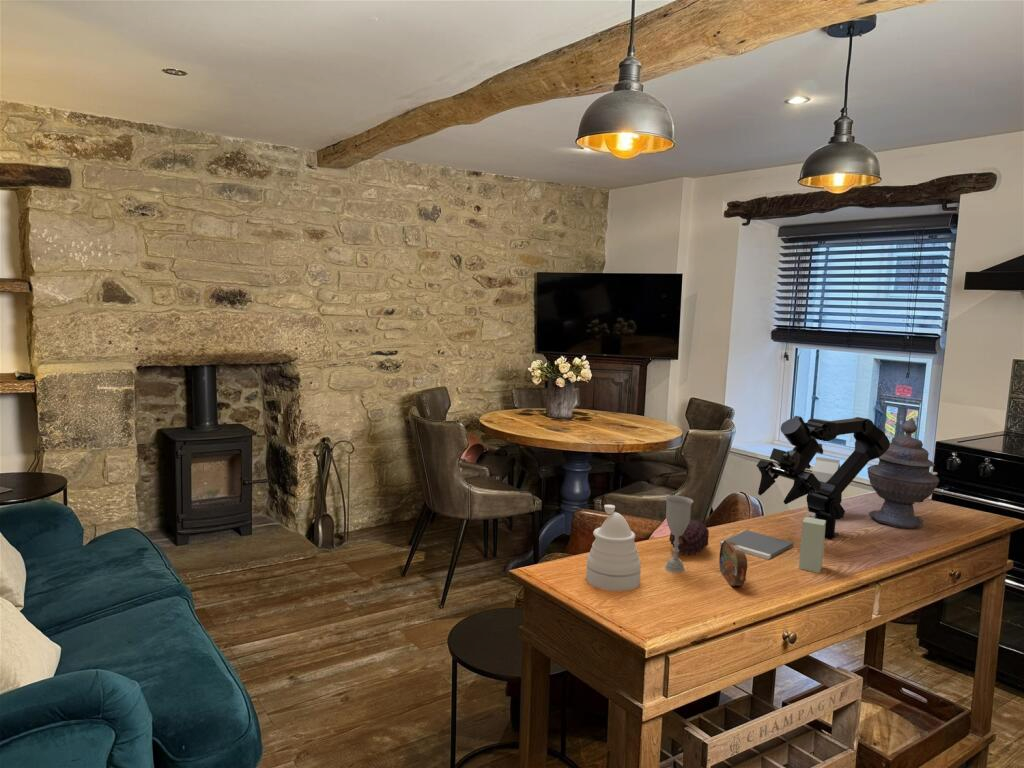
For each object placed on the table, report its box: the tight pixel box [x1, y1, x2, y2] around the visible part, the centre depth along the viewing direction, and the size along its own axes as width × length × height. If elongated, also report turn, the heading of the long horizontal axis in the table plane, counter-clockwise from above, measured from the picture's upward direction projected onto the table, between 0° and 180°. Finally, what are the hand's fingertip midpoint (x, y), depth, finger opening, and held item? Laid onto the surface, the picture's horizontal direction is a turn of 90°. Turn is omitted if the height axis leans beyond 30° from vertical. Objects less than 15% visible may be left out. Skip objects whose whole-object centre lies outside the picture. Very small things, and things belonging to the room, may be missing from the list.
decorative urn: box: [867, 417, 940, 529], centre depth 222 cm, size 20×20×34 cm
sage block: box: [798, 516, 826, 574], centre depth 182 cm, size 5×5×12 cm
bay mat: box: [719, 529, 794, 560], centre depth 198 cm, size 16×14×1 cm
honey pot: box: [585, 504, 642, 592], centre depth 169 cm, size 13×13×18 cm
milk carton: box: [808, 456, 841, 517], centre depth 228 cm, size 7×7×19 cm
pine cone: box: [668, 518, 710, 556], centre depth 191 cm, size 18×10×10 cm
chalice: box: [664, 495, 694, 574], centre depth 177 cm, size 7×7×18 cm
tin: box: [718, 540, 748, 587], centre depth 172 cm, size 15×3×8 cm, turn 178°
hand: (771, 498), depth 197 cm, fingers open, 9 cm apart
